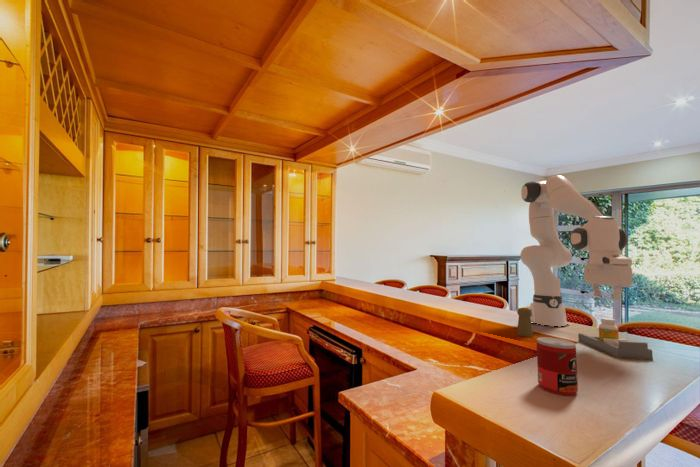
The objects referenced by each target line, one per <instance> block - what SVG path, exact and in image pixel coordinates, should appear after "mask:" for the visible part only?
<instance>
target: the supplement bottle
mask: <svg viewBox="0 0 700 467" xmlns="http://www.w3.org/2000/svg"><path fill="white" fill-rule="evenodd" d="M619 336H620V335H619V327H618V326H617V325H616V319H614V318H609V317H601V318H600V324H598V337H599V340H601V341H603V342H604V338H609V339H620V337H619Z"/></svg>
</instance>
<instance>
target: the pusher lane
mask: <svg viewBox="0 0 700 467" xmlns="http://www.w3.org/2000/svg"><path fill="white" fill-rule="evenodd" d="M577 338H578V342H579V343H583V344H584V345H587V346H589V347H591V348H594V349H596V350H598V351H600V352H603V353H605V354H608V355H611V356H612V357H615V358H618V359H632V358H633V360H635V359H636V360H649V361H651V360H653V356H654V355H653V349H651V348H648V342H645V341H629V340H627V341H618V342H619V347H617V346H614V345H611V344H609V343H606V342H603V341H601V340H599V336H593V335H592V336H589V335H587V334H584V333H581V332H579V333H578V337H577Z"/></svg>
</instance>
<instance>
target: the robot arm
mask: <svg viewBox="0 0 700 467" xmlns="http://www.w3.org/2000/svg"><path fill="white" fill-rule="evenodd" d="M520 194H521V199H522V200H523V201H524V202H525V203H529V205H528V223H529V231H530V235H531V237H532V238H534V239H535V240H536V241H537V243H539V245H538V244H535V245H528V246H525V247H523V248H522V250H521V252H520V260H521V262H522V264H523V265H525V266H526V267H527V268H528V270H529V272H530V274H531V275H532V279H533V286H534V287H533V288H534V289H533V290H534V293H533V295H532V296H533V297H532V303H531V304H530V305H529V306H528V307H527V309H530V310H531V312H532V314H531V316H530V319H531V322H533V323H537V324H536V325H538V324H542V325H541V326H544V325H549V326H548V327H554V326H558V327H557V328H562V327H561V326H565V325H566V324H568V323H569V322H568V320H567V313H566V308H565V307H564V306H563V296H562V295H561V294H562V293H561V280H560V278H559V277H558V276H556V275H554V273H553V271H552V268H562V267H566V266H569V265H570V264H571V263H572V261H573V255H572V252H571V250H570V249H568V248H567V247H566V246H565V245H564V244H563V243H562V241H561V240H560V237H559V235H558V233H557V229H556V222H555V214H554V211H556V212H558V213H560V214H564V215H570V216H573V217H579V218H582V219H584V220H587V222H586V223H585V224H583V225H582V226H580V227H576V228H574V229H573V230H572V231H571V233H570V234H569V242H570V245H571V246H572V247H573V248H574V249H575V250H577V251H581V252H588V253H589V254H588V255H589V256H588V257H589V259H588V260H587V261H586V264H585V265H584V269H583V281H584V283H586V284H591V289H592V291H593V296H595V297H600V298H601V297H602V294H603V293H602V291H601V289H600V286H601V285H603V286H609V287H612V290H613V293H612V294H610V295H611V299H612V300H614V301H615V300H616V301H620V300H621V295H622V292H623V288H630V287H632V285H633V269H632V267H631V266H632V264H633V259H632V258H630V257H628V256H625V255H624V254H621V251H622V250H624V248H626V246H627V245H628V241H629V238H628V234H627V233H626V231H624V229H623V228H622V227H620V226H619V223H618V220H617V218H616V217H614V216H611V215H609V216H607V214H606V213H605V212H604V211H602V210H601V209H600V207H598V205H596V204H595V203H594V202H592V201H590V200H589V199H588V198H586V197H584V196H583V195H582V194H580V193H579V191H577V189H576V187H575V186H574V185H573V184H572V183H571V181H570V180H569V179H567V178H566V177H565V176H563V175H552V176H550V177H549V178H548V179H546V180H537V181H534V180H533V181H527V182H525V183H524V184H523V186H522V187H521V193H520ZM553 209H554V211H553ZM565 327H566V326H565Z"/></svg>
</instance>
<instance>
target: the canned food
mask: <svg viewBox="0 0 700 467" xmlns="http://www.w3.org/2000/svg"><path fill="white" fill-rule="evenodd" d="M577 358H578V357H577V346H576V343H575V342H572V341H570V340H568V339H563V338H559V337H558V338H557V337H548V336H545V337H544V336H540V337H537V338H536V360H537V361H536V362H537V366H536V367H537V382H538V386H539V387H540V388H541V389H542V390H544V391H547V392H549V393H552V394H555V395H560V396H566V397H569V396H571V397H572V396H575V395H577V393H578V389H579V388H578V386H579V384H578V365H577V364H578V363H577V360H578V359H577Z"/></svg>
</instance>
